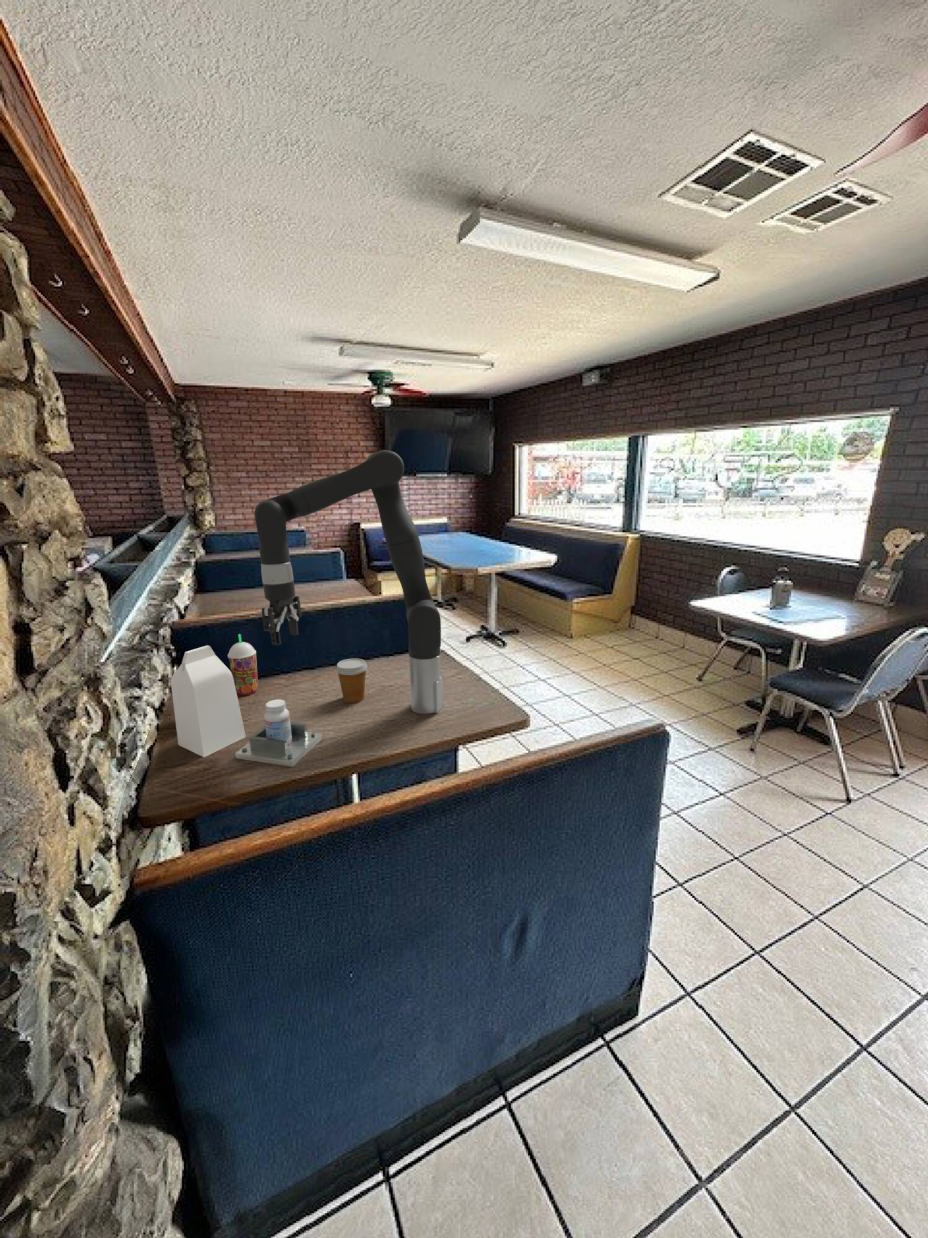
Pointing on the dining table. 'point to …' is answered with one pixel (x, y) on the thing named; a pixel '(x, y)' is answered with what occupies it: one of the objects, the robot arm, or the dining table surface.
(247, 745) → the mounting bracket
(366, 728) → the dining table surface
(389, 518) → the robot arm
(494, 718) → the dining table surface
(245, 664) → the smoothie
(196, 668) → the milk
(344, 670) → the disposable coffee cup
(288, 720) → the pill bottle
